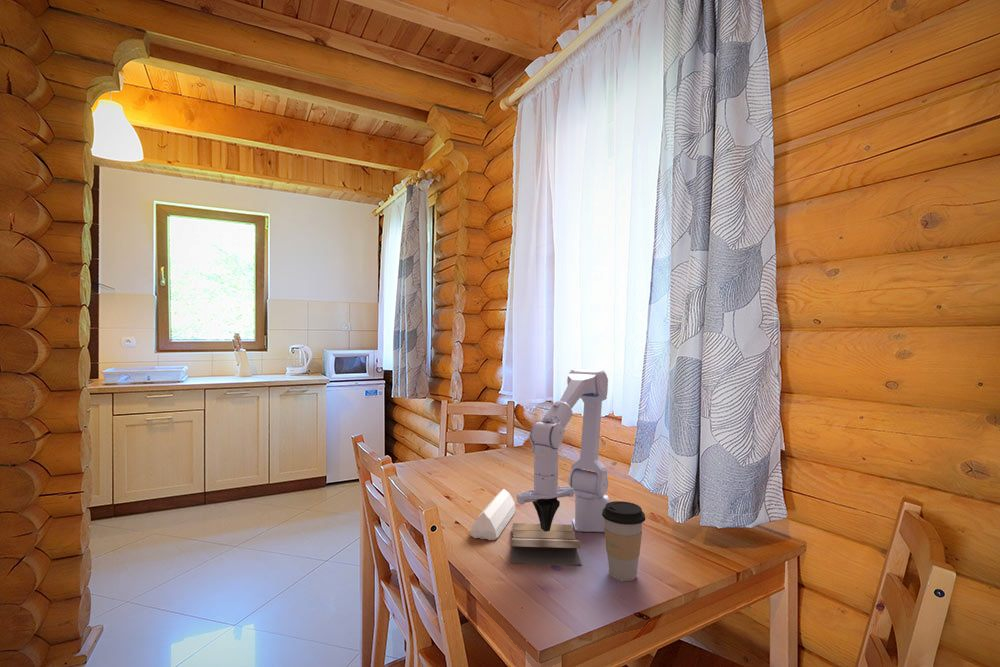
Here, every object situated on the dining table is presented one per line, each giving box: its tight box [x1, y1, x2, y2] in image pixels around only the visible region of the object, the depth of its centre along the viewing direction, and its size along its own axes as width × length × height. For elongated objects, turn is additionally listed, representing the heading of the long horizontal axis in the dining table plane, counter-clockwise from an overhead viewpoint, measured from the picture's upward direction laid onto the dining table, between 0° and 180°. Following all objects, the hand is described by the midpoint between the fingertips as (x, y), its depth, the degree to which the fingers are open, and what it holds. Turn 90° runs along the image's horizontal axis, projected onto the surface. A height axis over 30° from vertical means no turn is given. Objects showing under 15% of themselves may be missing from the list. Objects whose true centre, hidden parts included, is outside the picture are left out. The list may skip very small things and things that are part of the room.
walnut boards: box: [511, 522, 576, 540], centre depth 122 cm, size 16×9×2 cm, turn 88°
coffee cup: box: [602, 500, 646, 582], centre depth 104 cm, size 9×9×15 cm
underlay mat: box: [510, 525, 582, 566], centre depth 118 cm, size 16×21×1 cm
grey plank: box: [511, 537, 581, 549], centre depth 113 cm, size 16×9×2 cm, turn 88°
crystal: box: [469, 488, 516, 541], centre depth 131 cm, size 7×7×24 cm
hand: (545, 529), depth 111 cm, fingers closed
